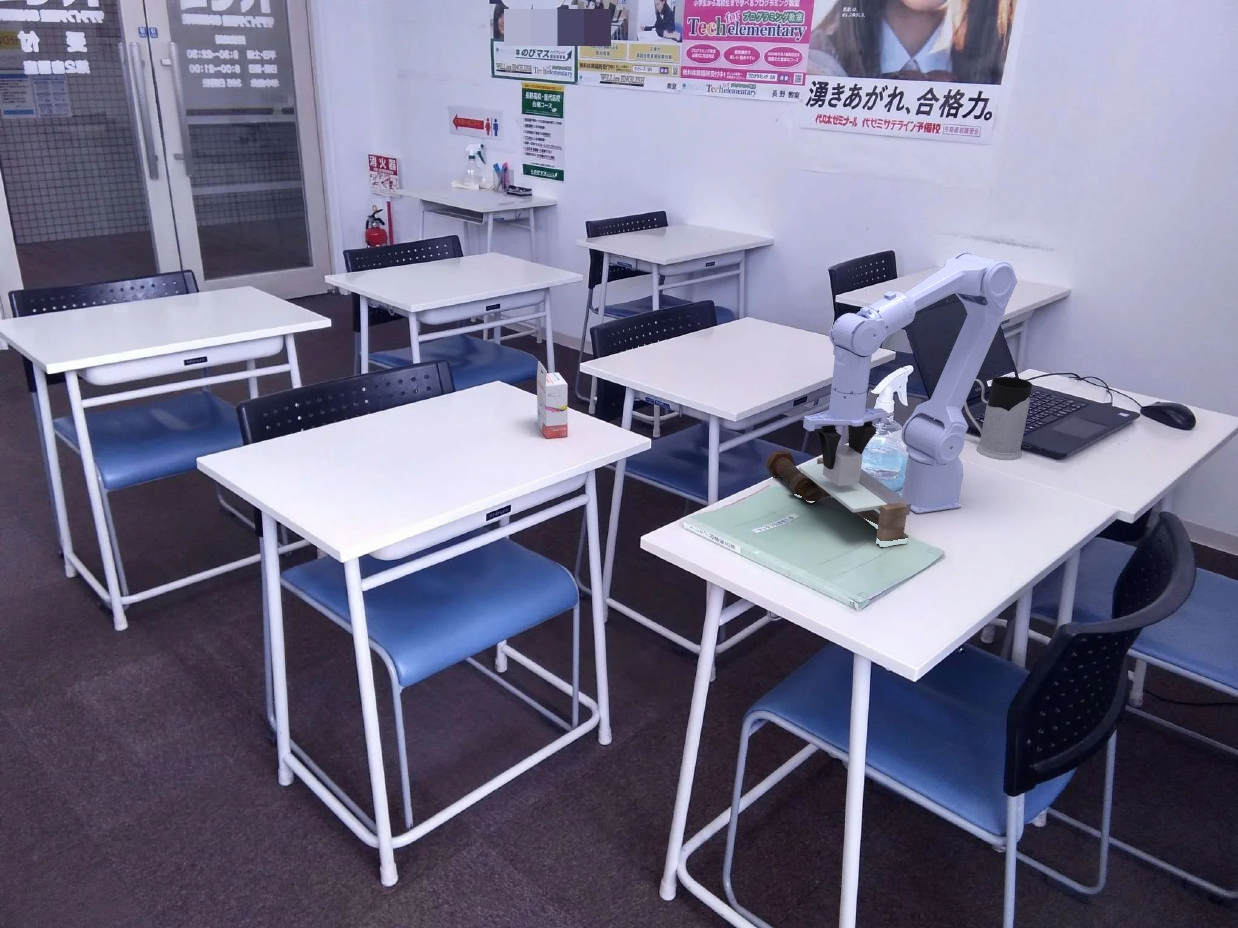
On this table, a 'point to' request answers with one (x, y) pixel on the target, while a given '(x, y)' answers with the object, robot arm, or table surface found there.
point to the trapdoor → (856, 490)
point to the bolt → (792, 475)
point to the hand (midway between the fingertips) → (840, 465)
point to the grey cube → (845, 467)
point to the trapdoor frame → (883, 518)
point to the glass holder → (1003, 418)
